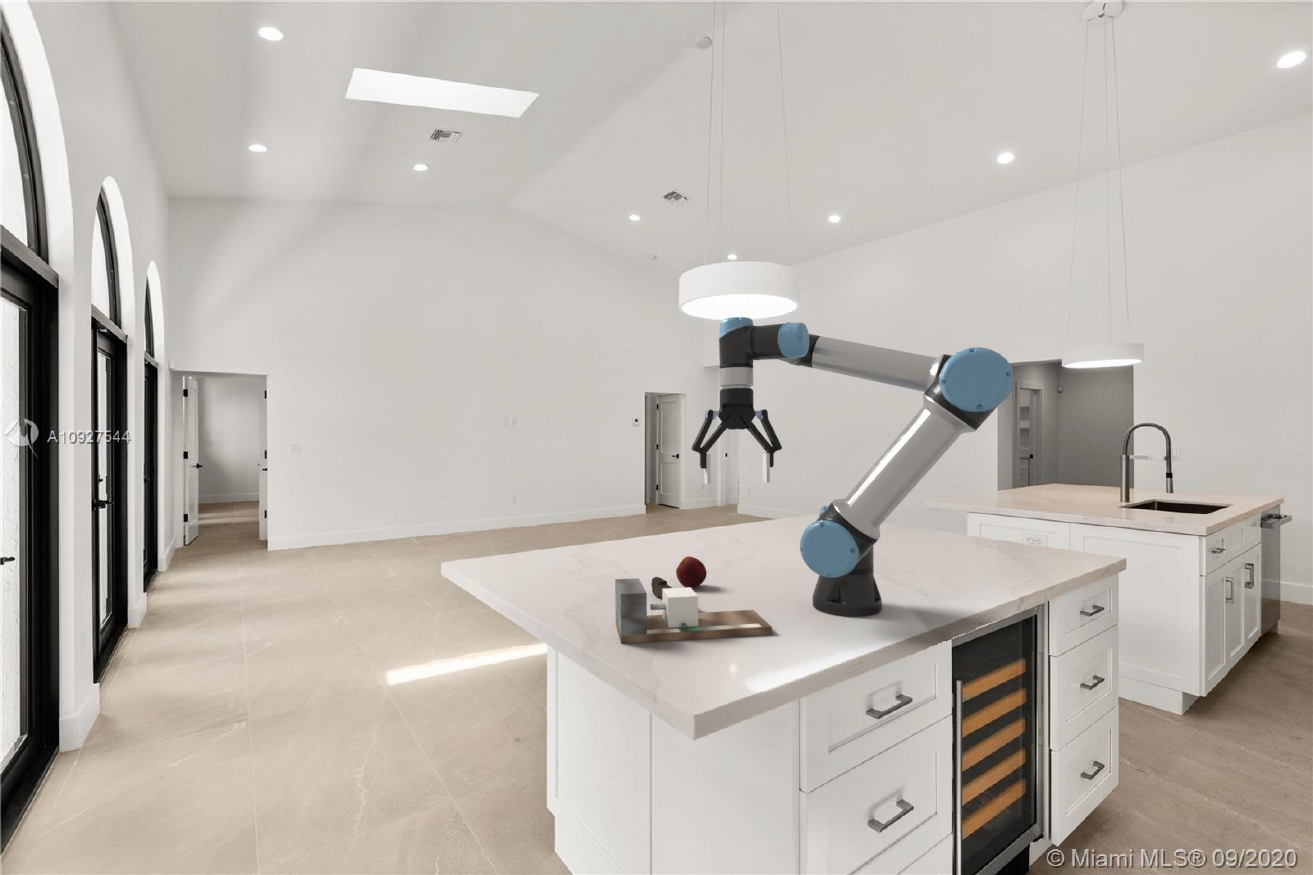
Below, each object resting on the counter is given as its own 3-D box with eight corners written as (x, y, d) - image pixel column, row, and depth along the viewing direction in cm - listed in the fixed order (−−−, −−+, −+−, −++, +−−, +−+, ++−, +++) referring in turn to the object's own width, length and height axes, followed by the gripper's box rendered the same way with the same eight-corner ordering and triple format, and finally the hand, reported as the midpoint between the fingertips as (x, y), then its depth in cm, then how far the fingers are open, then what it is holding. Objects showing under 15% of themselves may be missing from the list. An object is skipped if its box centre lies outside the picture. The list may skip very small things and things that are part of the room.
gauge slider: (690, 615, 131) (690, 587, 131) (701, 630, 122) (700, 599, 122) (648, 618, 130) (648, 589, 130) (655, 633, 121) (655, 601, 120)
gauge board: (753, 616, 136) (753, 573, 136) (771, 634, 124) (771, 586, 124) (615, 624, 132) (615, 579, 131) (621, 643, 120) (620, 594, 120)
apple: (678, 583, 166) (677, 553, 166) (707, 584, 165) (707, 554, 165) (675, 590, 158) (674, 559, 158) (705, 591, 157) (705, 560, 157)
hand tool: (696, 612, 141) (696, 591, 140) (680, 614, 139) (680, 593, 139) (663, 592, 158) (662, 574, 158) (648, 594, 156) (648, 575, 156)
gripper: (783, 389, 146) (784, 480, 146) (678, 389, 142) (679, 482, 142) (795, 387, 138) (796, 483, 139) (685, 386, 134) (685, 485, 135)
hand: (737, 483), depth 140 cm, fingers open, 13 cm apart
